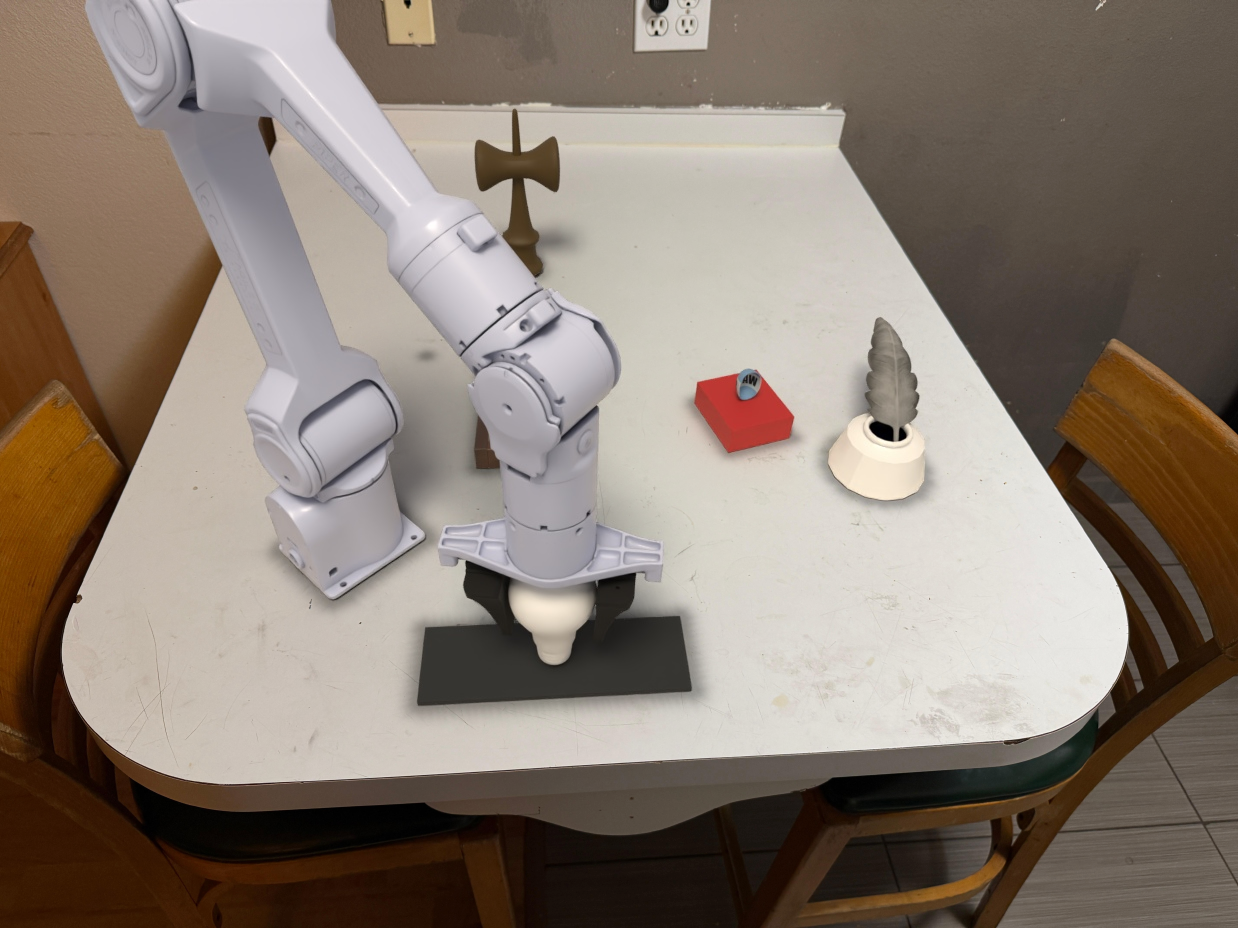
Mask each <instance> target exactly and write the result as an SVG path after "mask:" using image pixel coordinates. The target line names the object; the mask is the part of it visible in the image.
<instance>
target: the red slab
mask: <svg viewBox="0 0 1238 928" xmlns="http://www.w3.org/2000/svg"><path fill="white" fill-rule="evenodd" d="M695 387H696V388H695V395H694V402H693V403H694V405H695V406H696V408H697V409H698V411H699V412H700V414H701V415H702V417H703V418H704V419H705V421H706V423H707V424H708V425H709V427H710V428H711V430H712V431H713V433H714V434H715V436H716V437H717V438H718V440H719V441H720V443H721V445H722V446H723V447H724V448H725V450H726V452H727V453H734V452H737V451H741V450H746V449H750V448H755V447H758V446H763V445H766V444H771V443H775V442H779V441H783V440H787V439H790V438H791V434H792V429H793V425H794V421H795V415H794V414H793V413H792V411H791V410H790V409H789V408H788V407H787V405H786V404H785V403H784V402H783V400H782V399H781V398H780V397H779V396H778V394H777V393H776V391H774V389H773V388H772V386H771V385H770V384H769V383H768V381H766V379H765V378H764V376H763V375H762V374H761V373H760V372H759V371H758V370H757V369H753V368H745V369H742V371H740V372H737V373H733V374H728V375H724V376H723V375H722V376H719V377H714V378H710V379H704V380H699V381H697V382H696V386H695Z"/></svg>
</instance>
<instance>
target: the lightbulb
mask: <svg viewBox="0 0 1238 928" xmlns="http://www.w3.org/2000/svg"><path fill="white" fill-rule="evenodd" d="M597 586H598V583H597V580H595V581H590V582H585V583H581V584H576V585H571V586H566V587H561V588H540V587H535V586H532V585H529V584H527V583H524V582H521V581H519V580H516V579H514V578H511V580H510V583H509V589H508V597H509V604H510V607H511V609H512V612H513V614H514V616H515V619H516V620H517V622H518V623H520V624H521V625H523V626H524V627H525V628H526V629H527V630H529V631H530V632H532V635H533V640H534V642H535V644H536V645H537V651H538V655H539V657H540V659H541V660H542V661H543V662H545V663H547V664H550V665H558V664H561V663H563V662H565V661H566V660H567V659H568V658H569V657H570V654H571V649H572V643H573V641H574V639H575V635H576V630H578V629H579V628H580V627H581V626H582V625H583V624H584V623H585V622H586V621H587V620H590V618H591V616H592V614H593V612H594V609H595V608H596V595H597Z"/></svg>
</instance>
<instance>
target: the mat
mask: <svg viewBox="0 0 1238 928" xmlns="http://www.w3.org/2000/svg"><path fill="white" fill-rule="evenodd" d="M594 626H595V619H588V620H587V621H586V622H585V623H584V624H583V625H582V626H581V627H580V628H579V629H578V630H576V635H575V639H574V641H573V643H572V649H571V654H570V657H569V658H568V659H567V660H566V661H565V662H563V663H561V664H558V665H550V664H547V663H545V662H543V661H542V660H541V659H540V657H539V655H538V651H537V645H536V644H535V642H534V640H533V635H532V632H530V631H529V630H527V629H526V628H525V627H524V626H523V625H521V624H520V623H519V622H514V625H513V630H512V635H503V634H502V632H501V630H500V628H499V627H498V625H497V623H490V624H470V625H468V624H467V625H446V626H444V625H443V626H425V627H424V634H423V643H422V652H421V661H420V669H419V670H420V671H419V679H418V689H417V697H416V703H417V704H416V705H417V706H419V707H420V706H438V705H439V706H440V705H457V704H474V703H493V702H494V703H495V702H514V701H531V700H550V699H552V700H553V699H571V698H587V697H590V698H591V697H606V696H608V697H610V696H628V695H645V694H664V693H681V692H682V693H683V692H685V693H686V692H692V689H693V687H692V686H693V685H692V681H691V674H690V668H689V661H688V656H687V650H686V643H685V638H684V637H685V636H684V631H683V624H682V619H681V615H669V616H668V615H667V616H666V615H665V616H664V615H663V616H644V617H643V616H642V617H622V618H621V617H620V618H616V619H615V620H614V621H613V622H612V624H611V625H610V627H609V628H608V630H607V632H606V634H605V636H604V640H603V642H594V641H593V636H594Z"/></svg>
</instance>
